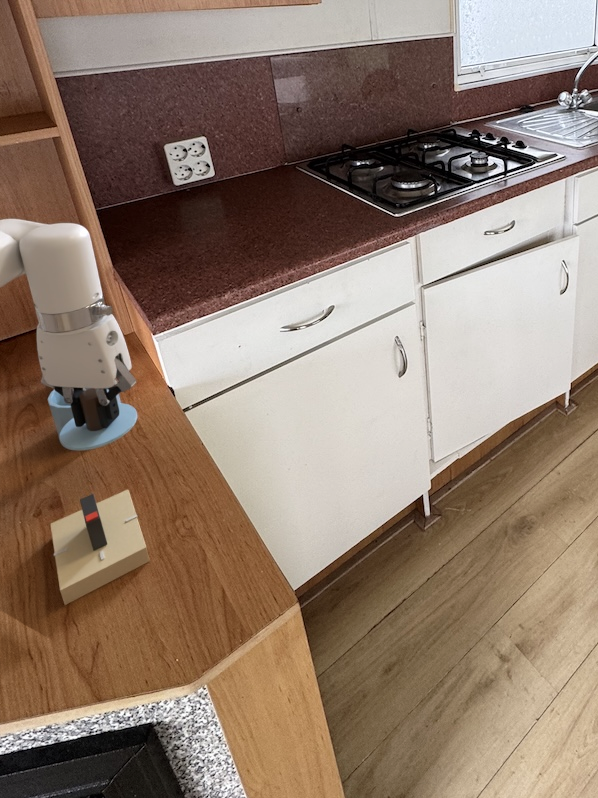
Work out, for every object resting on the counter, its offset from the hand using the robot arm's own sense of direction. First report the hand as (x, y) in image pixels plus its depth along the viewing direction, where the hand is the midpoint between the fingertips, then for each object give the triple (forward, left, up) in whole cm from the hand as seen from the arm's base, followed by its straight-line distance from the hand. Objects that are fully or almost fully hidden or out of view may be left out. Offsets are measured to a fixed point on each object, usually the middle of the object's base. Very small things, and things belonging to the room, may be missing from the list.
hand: (98, 420), depth 85 cm
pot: (-12, +5, -10) cm, 16 cm away
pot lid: (0, 0, -1) cm, 1 cm away
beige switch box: (+11, -10, -10) cm, 18 cm away
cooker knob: (+11, -10, -7) cm, 17 cm away
